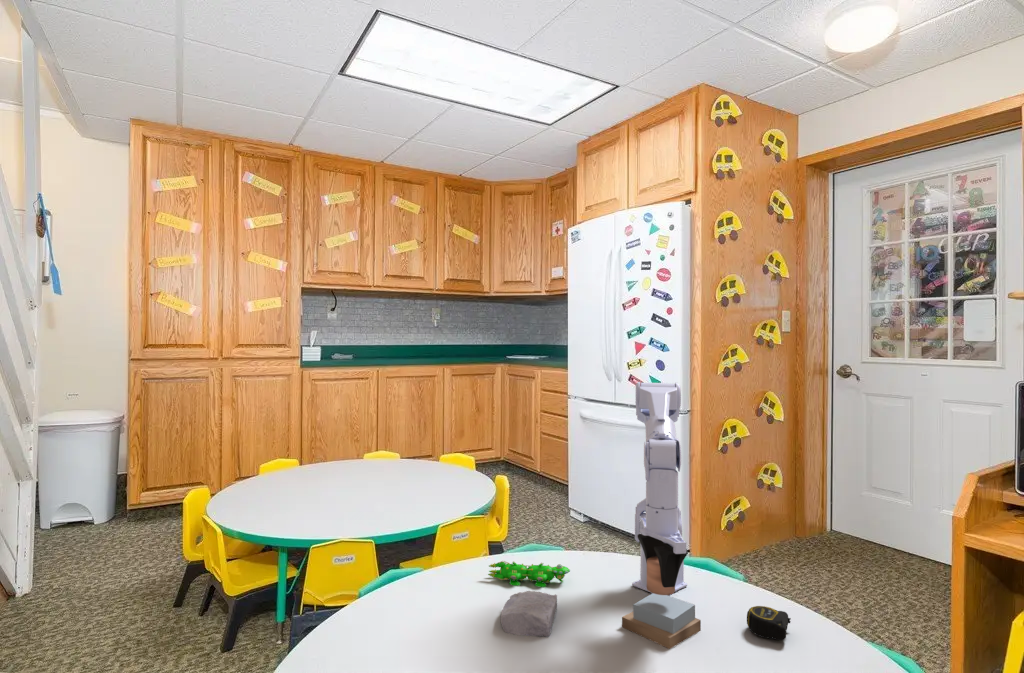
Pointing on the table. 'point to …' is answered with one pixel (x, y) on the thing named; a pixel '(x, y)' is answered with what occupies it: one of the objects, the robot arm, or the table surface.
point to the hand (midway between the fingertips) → (661, 580)
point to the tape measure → (768, 622)
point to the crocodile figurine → (528, 573)
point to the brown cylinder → (656, 578)
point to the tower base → (660, 631)
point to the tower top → (664, 612)
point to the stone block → (529, 613)
